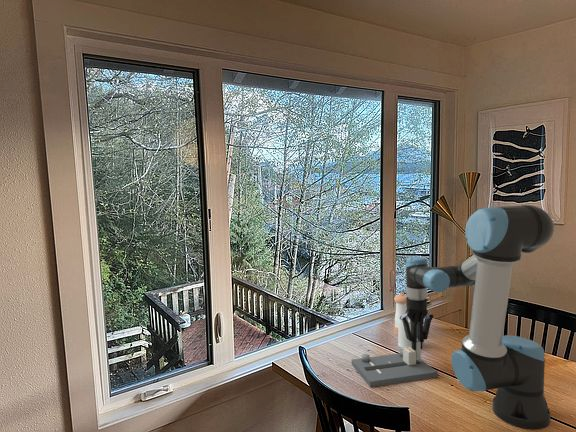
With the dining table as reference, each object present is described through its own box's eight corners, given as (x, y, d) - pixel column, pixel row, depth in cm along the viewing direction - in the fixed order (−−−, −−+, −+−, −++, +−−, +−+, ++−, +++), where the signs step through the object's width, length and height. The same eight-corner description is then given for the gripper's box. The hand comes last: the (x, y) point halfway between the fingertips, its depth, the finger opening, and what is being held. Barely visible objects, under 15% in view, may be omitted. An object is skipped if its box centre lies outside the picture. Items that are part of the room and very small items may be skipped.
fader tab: (415, 364, 151) (415, 351, 150) (408, 365, 150) (408, 352, 150) (410, 359, 155) (409, 346, 155) (402, 360, 154) (402, 347, 154)
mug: (428, 345, 173) (428, 318, 172) (422, 352, 166) (422, 324, 165) (402, 339, 180) (401, 314, 179) (394, 346, 173) (394, 319, 172)
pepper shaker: (400, 329, 192) (399, 290, 190) (413, 333, 186) (413, 293, 185) (391, 333, 187) (390, 293, 186) (404, 337, 182) (404, 296, 180)
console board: (437, 377, 145) (436, 366, 145) (370, 387, 140) (370, 376, 140) (411, 356, 163) (411, 346, 163) (351, 364, 158) (351, 354, 157)
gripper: (427, 293, 156) (427, 351, 158) (396, 296, 154) (396, 355, 156) (437, 298, 149) (437, 359, 151) (405, 302, 146) (406, 363, 148)
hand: (417, 357), depth 153 cm, fingers closed
